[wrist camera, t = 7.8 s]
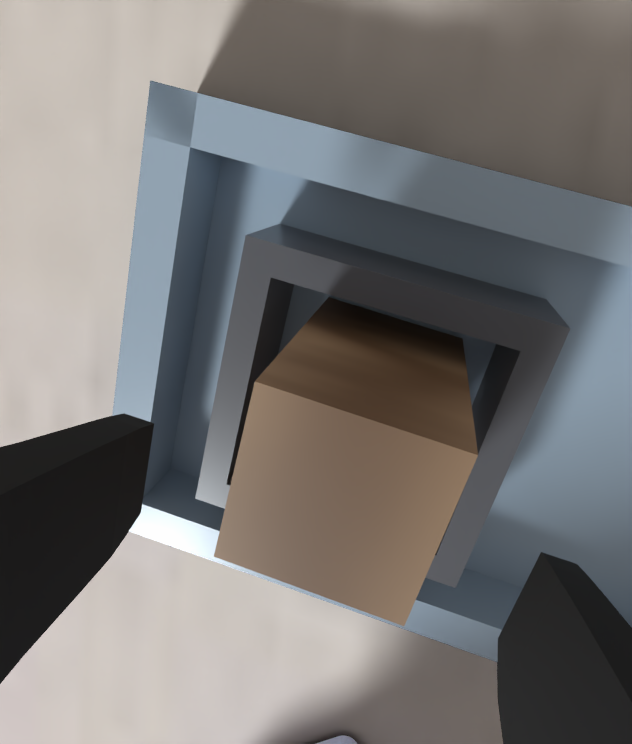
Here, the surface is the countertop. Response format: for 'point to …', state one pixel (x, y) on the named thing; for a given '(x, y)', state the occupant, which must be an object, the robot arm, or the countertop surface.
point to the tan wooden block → (352, 459)
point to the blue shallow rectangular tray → (396, 299)
